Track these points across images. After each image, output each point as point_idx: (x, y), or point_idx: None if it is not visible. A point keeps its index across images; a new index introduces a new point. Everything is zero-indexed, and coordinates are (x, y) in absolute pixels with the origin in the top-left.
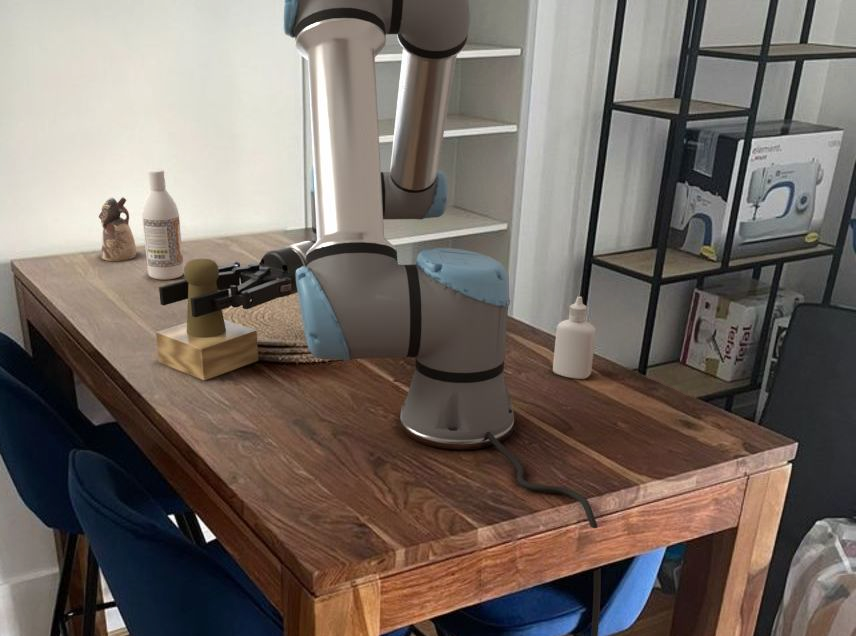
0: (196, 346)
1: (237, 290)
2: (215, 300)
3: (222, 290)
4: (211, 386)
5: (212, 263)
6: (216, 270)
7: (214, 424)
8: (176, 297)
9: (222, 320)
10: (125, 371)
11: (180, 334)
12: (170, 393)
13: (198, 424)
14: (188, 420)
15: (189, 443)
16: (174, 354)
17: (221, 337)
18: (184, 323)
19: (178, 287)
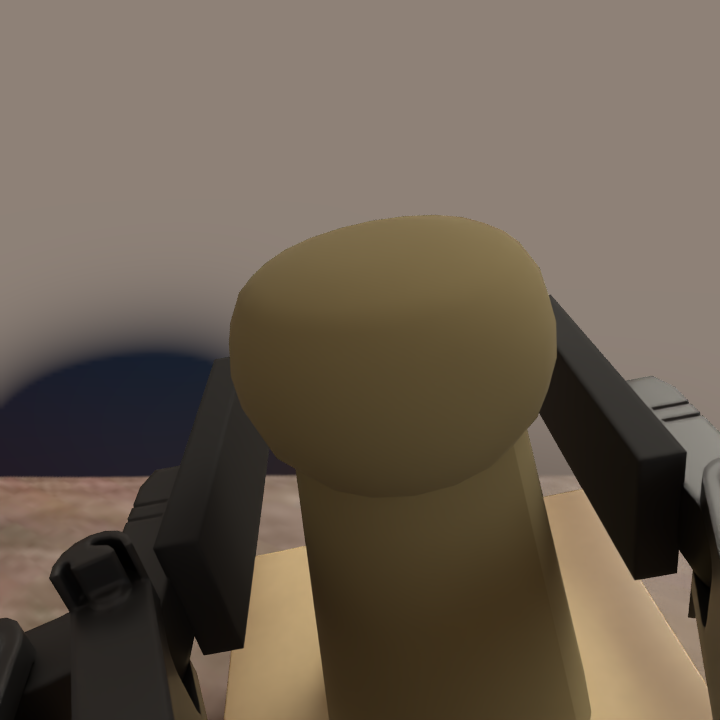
0: (284, 554)
1: (70, 601)
2: (167, 471)
3: (186, 507)
4: (214, 657)
5: (258, 301)
6: (238, 376)
7: (21, 547)
8: (558, 422)
9: (340, 717)
10: (553, 488)
11: None
12: (283, 532)
13: (64, 519)
14: (104, 510)
15: (27, 477)
16: None
17: (288, 707)
18: (669, 638)
19: (563, 380)
